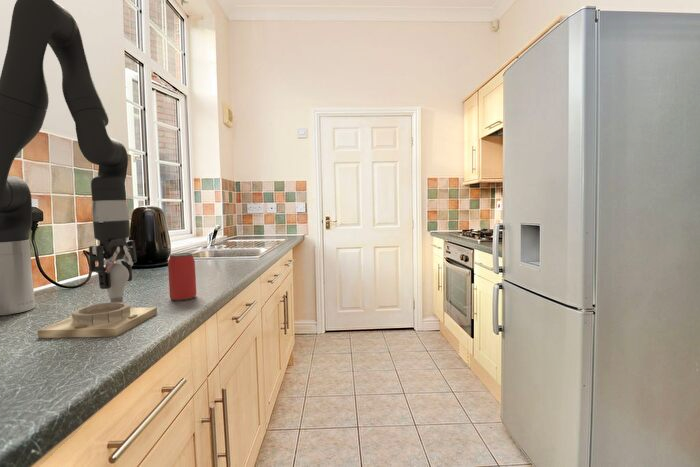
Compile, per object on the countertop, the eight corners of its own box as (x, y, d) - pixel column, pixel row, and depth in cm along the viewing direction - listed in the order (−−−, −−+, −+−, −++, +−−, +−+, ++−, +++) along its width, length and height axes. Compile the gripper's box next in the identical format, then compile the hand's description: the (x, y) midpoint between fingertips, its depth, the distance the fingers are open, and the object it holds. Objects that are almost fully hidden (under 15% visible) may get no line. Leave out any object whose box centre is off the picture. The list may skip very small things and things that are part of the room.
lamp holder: (38, 337, 71) (36, 320, 71) (92, 314, 86) (91, 300, 86) (115, 336, 71) (114, 318, 71) (157, 313, 86) (156, 298, 86)
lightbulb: (136, 303, 95) (133, 261, 94) (119, 310, 89) (116, 265, 88) (114, 303, 96) (111, 261, 95) (96, 310, 90) (92, 265, 89)
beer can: (191, 294, 105) (188, 252, 104) (200, 297, 100) (198, 253, 100) (166, 298, 100) (163, 254, 100) (175, 302, 96) (172, 256, 95)
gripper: (114, 218, 98) (120, 279, 99) (74, 221, 84) (81, 291, 85) (142, 217, 98) (147, 278, 99) (107, 220, 84) (113, 290, 85)
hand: (117, 284), depth 92 cm, fingers open, 8 cm apart
